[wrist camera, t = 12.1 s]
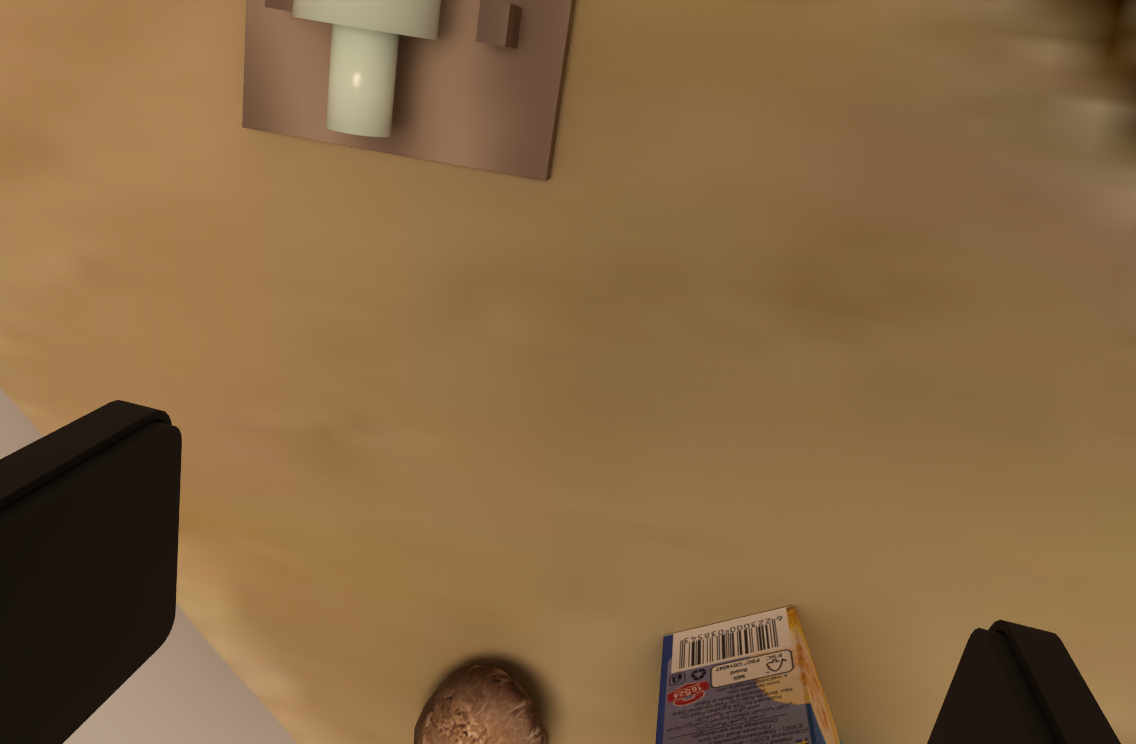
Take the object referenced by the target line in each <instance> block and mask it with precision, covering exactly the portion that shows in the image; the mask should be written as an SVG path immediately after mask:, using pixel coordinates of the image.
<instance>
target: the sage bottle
mask: <svg viewBox="0 0 1136 744" xmlns="http://www.w3.org/2000/svg"><path fill="white" fill-rule="evenodd" d="M440 6H441V0H293V13H292V17H297V18H302V19H308V20H314V21H320V22H326V23H332V36H331V51H330V67H329V83H328V98H327V114H326V128H327V129H330V130H333V131H337V132H342V133H347V134H354V135H361V136H370V137H390V135H391V124H392V112H393V101H394V89H395V78H396V66H397V55H398V43H399V34H400V35H406V36H412V37H419V38H425V39H432V40H437V36H438V26H439V16H440Z"/></svg>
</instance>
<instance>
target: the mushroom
mask: <svg viewBox="0 0 1136 744" xmlns="http://www.w3.org/2000/svg"><path fill="white" fill-rule="evenodd" d="M414 744H548V741H547V736H546V734H545V733H544V732H543V731H542V727H541V724H540V720H539V716H538V713H537V709H536V707H535V705H534V704H533V702H532V701H531V699H530V698H529V696H528V695H527V693H526V692H525V690H524V689H523V687H522V686H521V684H520V683H518V682H517V681H516V680H514V679H513V678H512V677H510V676H509V675H508V674H506V673H505V672H504V671H502V670H501V669H500V668H497V667H489V666H480V665H471V666H469V667H467V668H465V669H463V670H461V671H459V672H457V673H456V674H454V675H452V676H450V677H448V678H447V679H446V680H445V681H443V683H442V684H441V685H440V686H439V688H438V689H437V690H436V692H435V693H434V694H433V695H432V697H431V698H430V699H429V700H428V702H427V703H426V705H425V706H424V708H423V710H422V712H421V715H420V717H419V719H418V721H417V723H416V726H415V731H414Z"/></svg>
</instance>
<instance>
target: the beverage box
mask: <svg viewBox="0 0 1136 744" xmlns="http://www.w3.org/2000/svg"><path fill="white" fill-rule="evenodd" d="M656 744H842V743H841V740H840V737H839V735H838V732H837V729H836V726H835V723H834V720H833V717H832V714H831V711H830V708H829V706H828V703H827V700H826V697H825V694H824V691H823V688H822V685H821V682H820V679H819V676H818V674H817V671H816V668H815V665H814V662H813V659H812V656H811V653H810V650H809V647H808V644H807V642H806V639H805V636H804V633H803V630H802V627H801V624H800V621H799V618H798V615H797V613H796V610H795V607H794V605H792V606H788V607H784V608H779V609H775V610H771V611H767V612H763V613H758V614H754V615H750V616H746V617H741V618H737V619H733V620H729V621H725V622H720V623H716V624H712V625H708V626H703V627H699V628H695V629H691V630H687V631H682V632H678V633H674V634H670V635H665V636H664V640H663V653H662V667H661V680H660V693H659V706H658V719H657V732H656Z"/></svg>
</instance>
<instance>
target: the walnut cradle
mask: <svg viewBox="0 0 1136 744" xmlns="http://www.w3.org/2000/svg"><path fill="white" fill-rule="evenodd" d="M574 7H575V0H441V6H440V16H439V26H438V36H437V40H432V39H425V38H419V37H412V36H406V35H400V34H399V43H398V55H397V66H396V78H395V89H394V101H393V112H392V124H391V135H390V137H370V136H361V135H354V134H347V133H342V132H337V131H333V130H330V129H327V128H326V114H327V98H328V83H329V67H330V51H331V36H332V23H326V22H320V21H314V20H308V19H302V18H297V17H292V13H293V0H247V3H246V32H245V62H244V92H243V122H242V127H244V128H249V129H255V130H261V131H266V132H272V133H278V134H283V135H289V136H295V137H300V138H306V139H312V140H317V141H323V142H329V143H334V144H340V145H345V146H351V147H357V148H362V149H368V150H374V151H379V152H385V153H391V154H396V155H402V156H408V157H413V158H419V159H425V160H430V161H436V162H442V163H447V164H453V165H459V166H464V167H470V168H476V169H481V170H487V171H493V172H498V173H504V174H510V175H515V176H521V177H526V178H532V179H538V180H543V181H546V180H548V179H549V178H550V171H551V164H552V158H553V151H554V144H555V137H556V130H557V123H558V116H559V110H560V103H561V96H562V89H563V82H564V75H565V68H566V61H567V55H568V48H569V41H570V34H571V27H572V20H573V13H574Z"/></svg>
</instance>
